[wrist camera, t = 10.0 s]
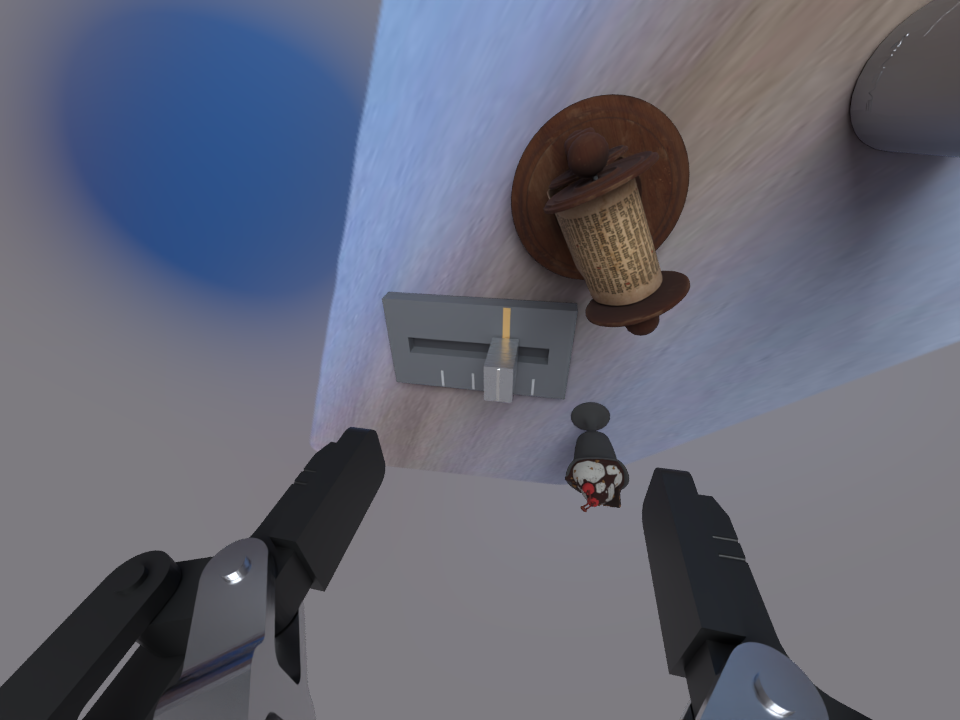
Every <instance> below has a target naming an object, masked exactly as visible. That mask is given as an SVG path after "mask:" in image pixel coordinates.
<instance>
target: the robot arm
mask: <svg viewBox="0 0 960 720" xmlns="http://www.w3.org/2000/svg"><path fill="white" fill-rule="evenodd" d="M850 113H851V123H852V126H853V128H854V131H855V133H856V135H857V136H858V137H859V138H860V139H861V140H862V142H863V143H865V144H867V145H869V146H870V147H872V148H874V149H878V150H883V151H889V152H902V153H914V154H925V155H935V156H948V157H960V0H933V1H931V2H930V3H928V4H927V5H925V6H924V7H922V8H920V9H919V10H917V11H916V12H914V13H913V14H912V15H911V16H909V17H908V18H907V19H906V20H904V21H903V22H902V23H901V24H900V25H898V26H897V27H896V28H895V29H894V30H893V31H892V32H891V33H890V34H889V35H888V37H887V38H886V39H885V40H884V41H883V42H882V43H881V44H880V45H879V47H878V48H877V49H876V51H875V52H874V53H873V55H872V56H871V58H870V59H869V60H868V62H867V64H866V65H865V67H864V69H863V71H862V73H861V75H860V76H859V78H858V81H857V84H856V87H855V89H854V92H853V95H852V102H851V109H850ZM384 474H385V461H384V457H383V454H382V450H381V446H380V443H379V439H378V435H377V433H376V431H375V430H371V429H363V428H355V427H350V428H348V429H347V430H346V431H345V432H344V433H343V435H342V436H341V438H340V439H339V440H338V442H337V443H335V442H330V443H329V444H328V445H326V446H325V447H324V448H322V449H321V450H320V451H318V452H317V453H316V454H315V455H314V456H313V457H312V459H311V460H310V461H309V463H308V464H307V465H306V467H305V468H304V471H303V472H301V473H300V474H299V476H298V477H297V478H296V479H295V482H294V484H292V485H291V486H290V487H289V488H288V490H287V491H286V492H285V494H284V495H283V496H282V498H281V499H280V500H279V501H278V503H277V504H276V505H275V507H274V508H273V509H272V510H271V512H270V513H269V514H268V516H267V517H266V518H265V520H264V521H263V522H262V523H261V525H260V526H259V527H258V529H257V530H256V531H255V532H254V533H253V534H252V536H251V537H249V538H245V539H241V540H238V541H235V542H233V543H231V544H229V545H228V546H226V547H225V548H223V549H222V550H220V551H219V552H218V553H217V554H216V555H215V556H213V557H208V558H201V559H194V560H188V561H181V562H174V561H173V559H172V558H171V557H170V556H169V555H168V554H166V553H165V552H163V551H149V552H145V553H142V554H140V555H137V556H135V557H133V558H131V559H129V560H128V561H126V562H124V563H123V564H122V565H120V566H119V567H118V568H116V569H115V570H114V571H113V572H112V573H111V574H109V575H108V576H107V577H106V578H105V580H103V582H102V583H101V584H100V585H99V586H98V587H97V588H96V589H95V590H94V591H93V592H92V593H91V594H90V595H89V596H88V597H87V598H86V599H85V600H84V601H83V602H82V603H81V604H80V605H79V607H77V609H76V610H75V611H74V612H73V613H72V614H71V615H70V616H69V617H68V618H67V619H66V620H65V621H64V622H63V623H62V624H61V625H60V626H59V627H58V628H57V629H56V630H55V631H54V632H53V633H52V634H51V635H50V636H49V637H48V639H47V640H46V641H45V642H44V643H43V644H42V645H41V646H40V647H39V648H38V649H37V650H36V651H35V652H34V653H33V654H32V655H31V656H30V657H29V658H28V659H27V661H25V662H24V663H23V664H22V666H20V668H19V669H18V670H17V671H16V672H15V673H14V674H13V675H12V676H11V677H10V678H9V679H8V680H7V681H6V682H5V683H4V684H3V685H2V686H1V687H0V720H77V719H78V716H79V715H80V712H81V711H82V709H83V708H84V706H85V705H86V704H87V702H88V701H89V700H90V699H91V697H92V696H93V695H94V693H95V692H96V691H97V690H98V688H99V687H100V686H101V685H102V683H103V682H104V681H105V680H106V678H107V677H108V676H109V674H110V673H111V672H112V671H113V669H114V668H115V667H116V666H117V664H118V663H119V661H121V659H122V658H123V657H124V655H125V654H126V653H127V652H128V650H129V649H130V648H131V646H132V645H133V644H134V643H135V642H137V643H139V644H140V646H139V647H138V649H137V650H136V651H135V652H134V654H133V655H132V656H131V658H130V659H129V660H128V662H127V663H126V664H125V665H124V667H123V668H122V669H121V671H120V672H119V673H118V674H117V676H116V677H115V678H114V680H113V681H112V682H111V684H110V685H109V686H108V687H107V689H106V690H105V691H104V692H103V694H102V695H101V696H100V698H99V699H98V700H97V702H96V703H95V704H94V705H93V707H92V708H91V709H90V711H89V712H88V713H87V714H86V716H85V717H84V718H83V719H82V720H316V716H315V711H314V706H313V702H312V699H311V696H310V693H309V688H308V680H307V679H308V678H307V658H306V639H305V638H306V636H305V615H304V603H303V600H304V598H305V596H306V594H307V592H308V591H309V589H310V588H311V589H316V590H320V591H325V590H326V588H327V586H328V584H329V582H330V580H331V579H332V577H333V575H334V572H335V571H336V569H337V567H338V565H339V563H340V561H341V559H342V557H343V556H344V554H345V552H346V550H347V548H348V546H349V544H350V542H351V540H352V539H353V536H354V535H355V533H356V531H357V529H358V527H359V525H360V523H361V521H362V520H363V518H364V516H365V514H366V512H367V510H368V508H369V506H370V504H371V502H372V501H373V498H374V497H375V495H376V493H377V491H378V489H379V487H380V485H381V483H382V481H383V478H384ZM642 522H643V529H644V535H645V540H646V546H647V552H648V558H649V562H650V569H651V574H652V580H653V586H654V591H655V597H656V602H657V608H658V614H659V619H660V624H661V630H662V636H663V641H664V647H665V652H666V658H667V664H668V669H669V674H672V675H677V676H681V677H685V678H686V679H687V684H688V689H689V694H690V700H689V702H688V704H687V706H686V708H685V710H684V712H683V714H682V716H681V718H680V720H872V719H870V718H868V717H866V716H864V715H863V714H861V713H859V712H857V711H855V710H853V709H851V708H850V707H847V706H846V705H844V704H842V703H840V702H838V701H837V700H835V699H833V698H832V697H830V696H829V695H827V694H826V693H824V692H823V691H822V690H820V689H819V688H818V687H816V686H815V685H814V684H813V683H812V681H811V680H810V679H809V678H808V677H807V675H806V674H805V673H804V672H803V671H802V670H801V669H800V668H799V667H798V666H797V665H796V664H795V663H794V662H793V661H792V660H790V658H789V657H788V656H787V654H786V652H785V651H784V649H783V647H782V646H781V644H780V642H779V639H778V637H777V635H776V633H775V630H774V627H773V625H772V622H771V620H770V617H769V615H768V613H767V610H766V608H765V605H764V602H763V600H762V597H761V595H760V593H759V590H758V588H757V585H756V583H755V580H754V578H753V575H752V573H751V570H750V568H749V565H748V563H746V562H745V555H744V553H743V550H742V548H741V545H740V544H739V543H738V538H737V535H736V533H735V530H734V528H733V525H732V523H731V520H730V518H729V516H728V515H727V514H726V513H725V511H724V510H723V509H722V508H721V507H720V505H719V504H718V503H717V502H716V500H715V499H714V498H713V497H712V496H705V495H698V493H697V490H696V487H695V484H694V481H693V478H692V476H691V474H690V473H689V472H687V471H680V470H672V469H665V468H656V469H655V470H654V473H653V476H652V479H651V482H650V485H649V488H648V491H647V493H646V496H645V499H644V503H643V509H642Z"/></svg>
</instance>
